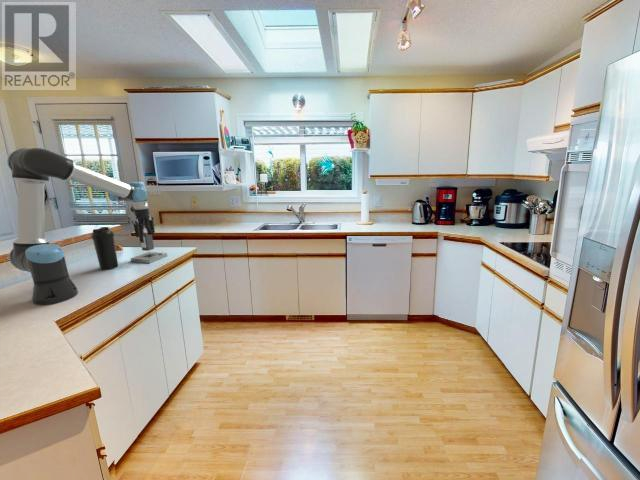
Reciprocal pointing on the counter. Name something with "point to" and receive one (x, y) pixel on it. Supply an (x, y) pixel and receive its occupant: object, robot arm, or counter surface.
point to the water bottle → (105, 248)
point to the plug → (148, 242)
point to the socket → (153, 256)
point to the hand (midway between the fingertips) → (147, 246)
